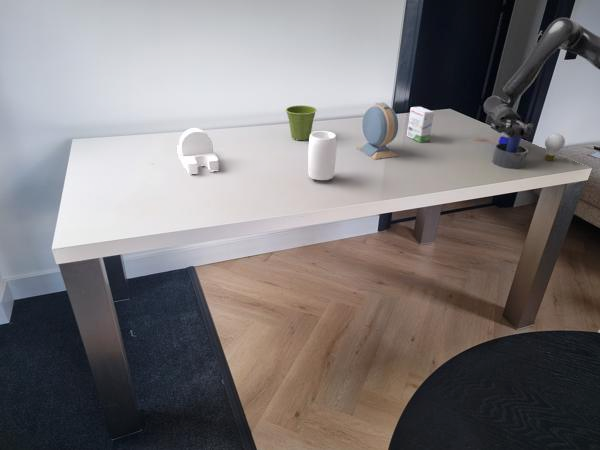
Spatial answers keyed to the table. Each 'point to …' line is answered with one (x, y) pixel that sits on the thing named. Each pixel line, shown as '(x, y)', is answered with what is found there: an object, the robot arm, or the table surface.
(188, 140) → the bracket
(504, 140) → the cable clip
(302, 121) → the plant pot
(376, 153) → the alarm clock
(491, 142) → the coaster
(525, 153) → the pen pot
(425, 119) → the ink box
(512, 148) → the marker
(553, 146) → the light bulb
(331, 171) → the cup
